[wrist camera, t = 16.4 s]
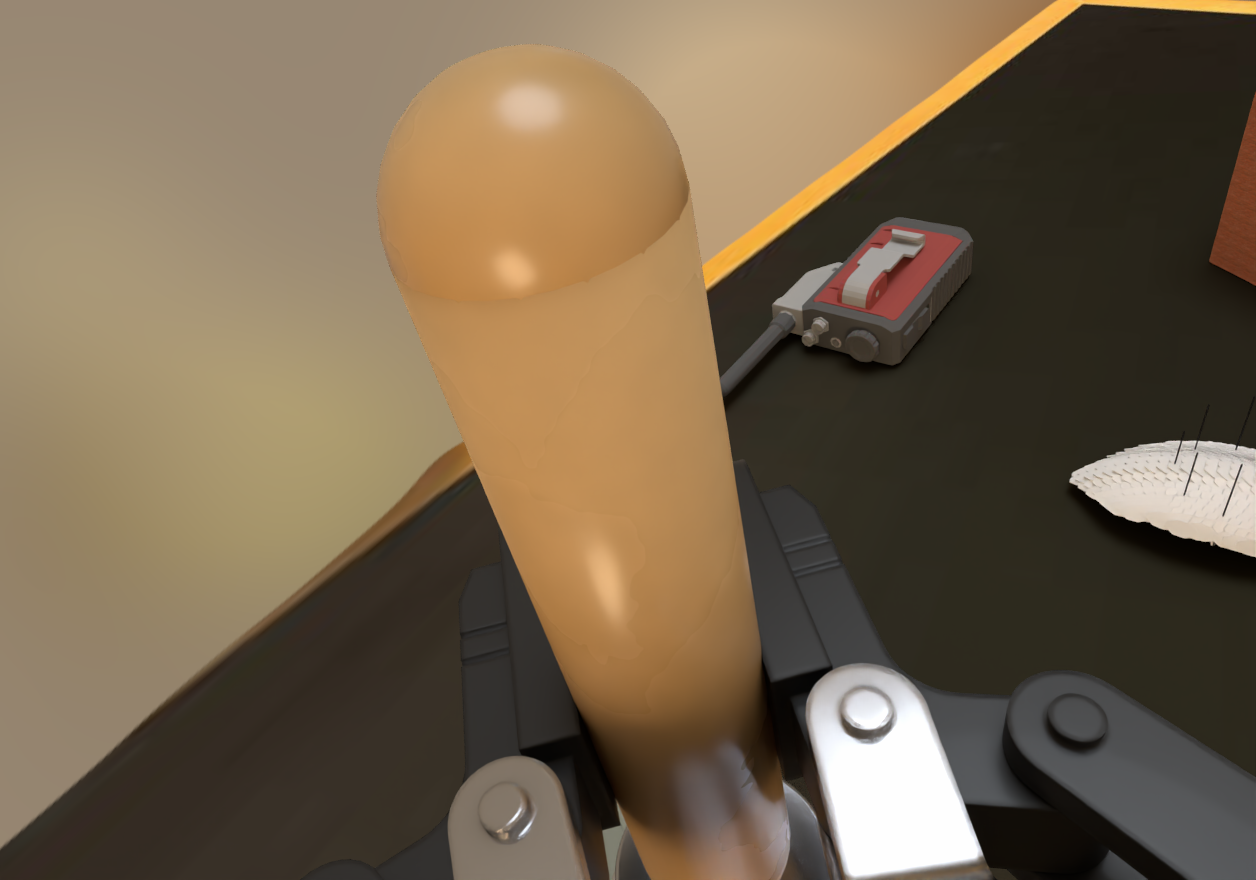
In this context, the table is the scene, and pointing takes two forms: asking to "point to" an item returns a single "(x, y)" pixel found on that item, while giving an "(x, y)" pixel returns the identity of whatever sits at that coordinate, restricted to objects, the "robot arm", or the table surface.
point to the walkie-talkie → (870, 296)
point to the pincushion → (1181, 489)
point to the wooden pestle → (600, 435)
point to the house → (1240, 212)
